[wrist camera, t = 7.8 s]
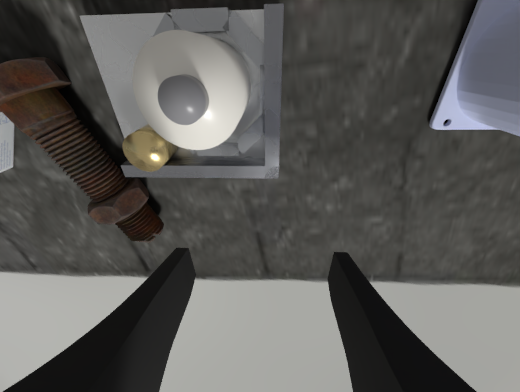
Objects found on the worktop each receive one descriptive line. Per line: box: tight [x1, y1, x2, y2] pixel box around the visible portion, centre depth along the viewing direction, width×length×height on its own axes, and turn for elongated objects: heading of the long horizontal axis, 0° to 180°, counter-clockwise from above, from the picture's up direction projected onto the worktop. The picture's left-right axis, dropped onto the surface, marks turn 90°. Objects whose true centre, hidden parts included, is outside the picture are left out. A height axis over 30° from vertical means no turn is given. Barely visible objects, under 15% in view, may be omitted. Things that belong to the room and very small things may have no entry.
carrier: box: [80, 4, 284, 178], centre depth 15 cm, size 12×10×4 cm
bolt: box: [0, 57, 164, 243], centre depth 18 cm, size 6×5×15 cm
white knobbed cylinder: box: [132, 30, 252, 150], centre depth 12 cm, size 5×5×6 cm
